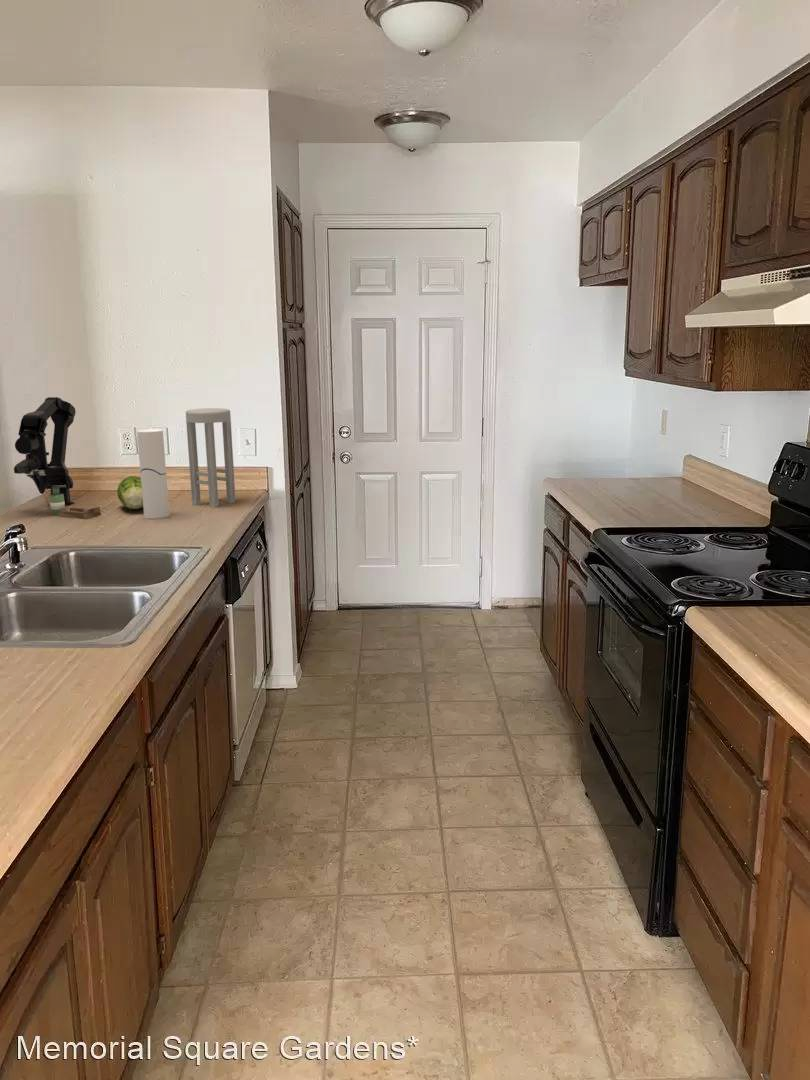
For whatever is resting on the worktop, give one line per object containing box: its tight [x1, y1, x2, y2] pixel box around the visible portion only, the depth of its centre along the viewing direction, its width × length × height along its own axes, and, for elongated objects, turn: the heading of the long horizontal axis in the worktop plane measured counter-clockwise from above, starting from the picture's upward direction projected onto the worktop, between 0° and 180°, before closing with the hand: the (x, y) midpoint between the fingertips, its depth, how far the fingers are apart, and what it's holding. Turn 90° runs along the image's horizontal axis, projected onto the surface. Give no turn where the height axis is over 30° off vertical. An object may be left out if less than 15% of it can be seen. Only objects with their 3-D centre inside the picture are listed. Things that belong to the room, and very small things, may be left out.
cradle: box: [58, 506, 102, 520], centre depth 295 cm, size 7×12×3 cm, turn 68°
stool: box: [185, 407, 236, 508], centre depth 311 cm, size 16×16×35 cm
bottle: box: [48, 486, 66, 516], centre depth 298 cm, size 5×5×10 cm
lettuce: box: [116, 475, 143, 510], centre depth 305 cm, size 12×21×11 cm, turn 20°
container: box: [136, 428, 170, 520], centre depth 291 cm, size 9×9×30 cm
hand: (42, 493), depth 300 cm, fingers closed
